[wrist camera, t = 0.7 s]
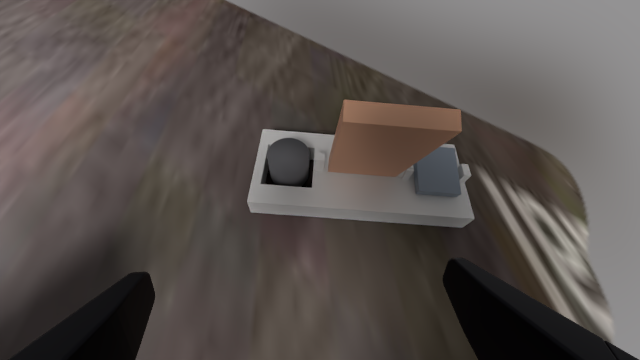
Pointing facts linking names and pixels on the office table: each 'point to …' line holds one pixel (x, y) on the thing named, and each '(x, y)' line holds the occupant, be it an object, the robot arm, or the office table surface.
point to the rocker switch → (438, 174)
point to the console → (354, 191)
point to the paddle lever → (388, 136)
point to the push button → (288, 162)
